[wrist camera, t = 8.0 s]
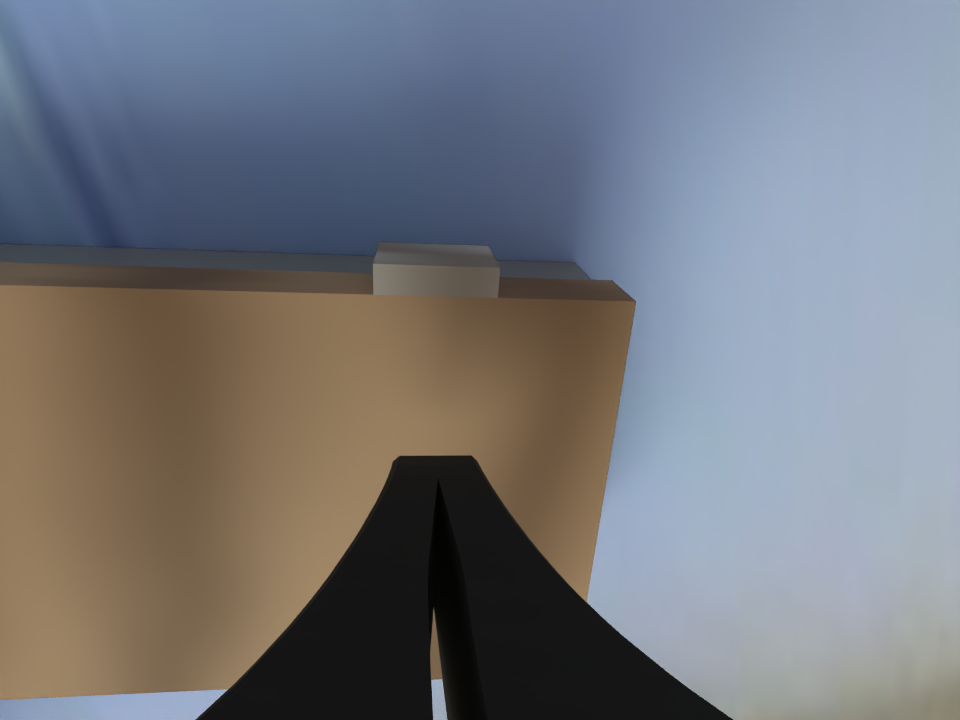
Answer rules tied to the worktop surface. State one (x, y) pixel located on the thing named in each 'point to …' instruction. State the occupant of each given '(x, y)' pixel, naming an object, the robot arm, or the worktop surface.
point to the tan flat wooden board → (269, 444)
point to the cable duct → (247, 260)
